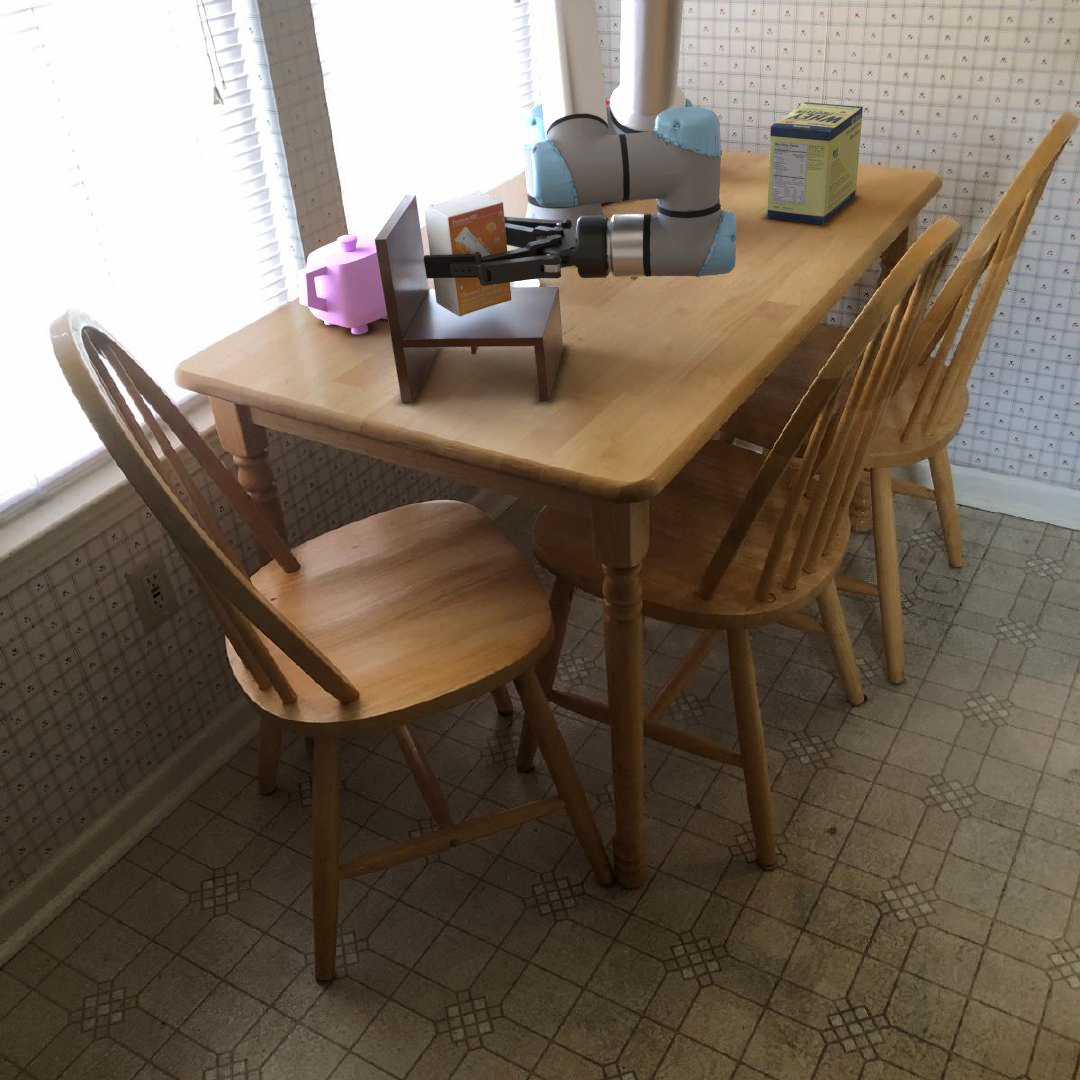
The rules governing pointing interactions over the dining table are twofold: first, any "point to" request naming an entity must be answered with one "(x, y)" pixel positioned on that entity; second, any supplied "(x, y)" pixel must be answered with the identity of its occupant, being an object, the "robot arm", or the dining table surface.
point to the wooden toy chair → (431, 325)
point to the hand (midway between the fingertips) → (434, 251)
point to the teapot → (344, 283)
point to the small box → (467, 248)
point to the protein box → (813, 162)
